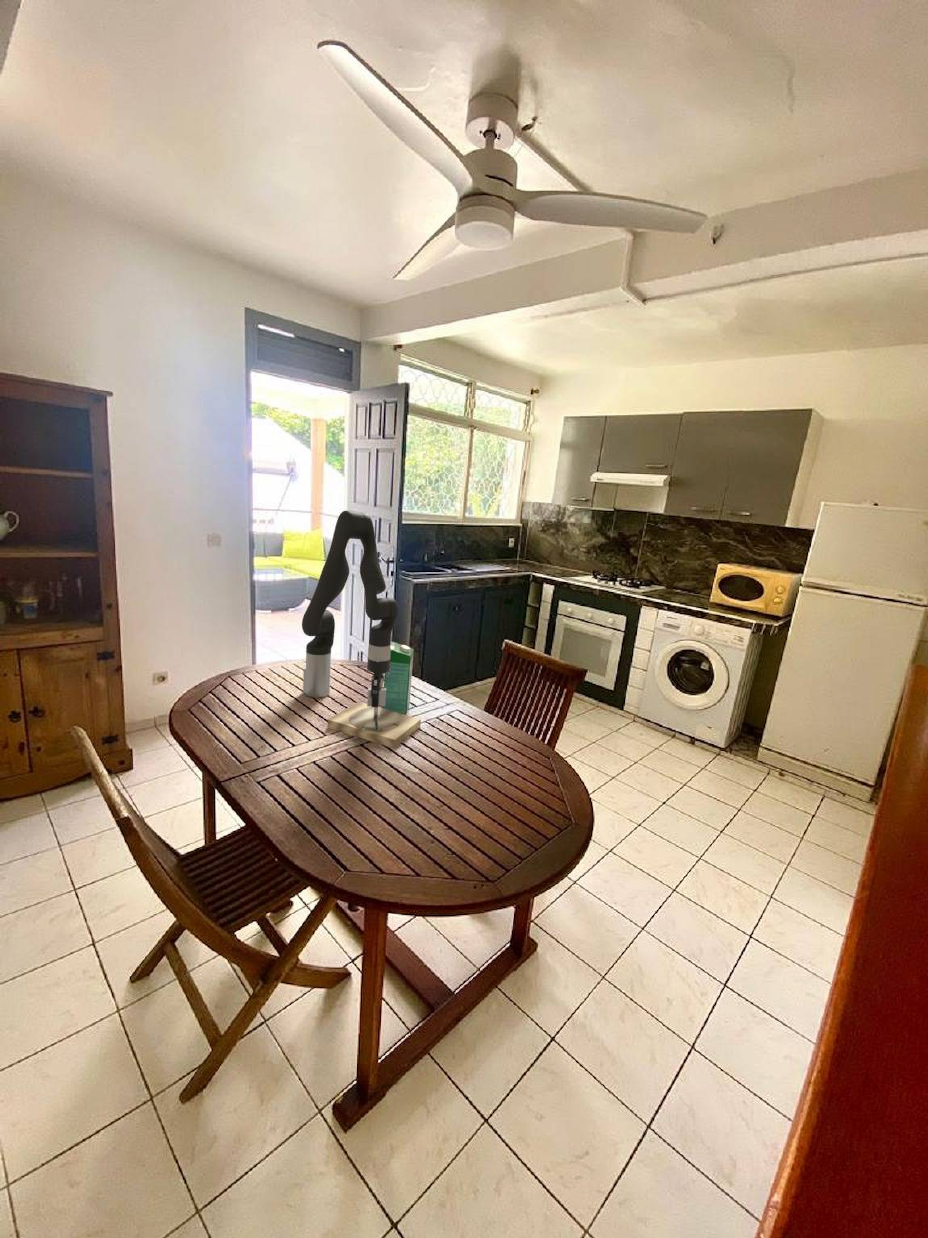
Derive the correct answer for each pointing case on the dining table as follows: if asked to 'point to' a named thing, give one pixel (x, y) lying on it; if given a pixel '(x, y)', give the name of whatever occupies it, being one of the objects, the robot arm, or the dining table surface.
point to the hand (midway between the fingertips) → (376, 701)
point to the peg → (381, 703)
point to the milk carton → (399, 678)
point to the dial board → (363, 724)
